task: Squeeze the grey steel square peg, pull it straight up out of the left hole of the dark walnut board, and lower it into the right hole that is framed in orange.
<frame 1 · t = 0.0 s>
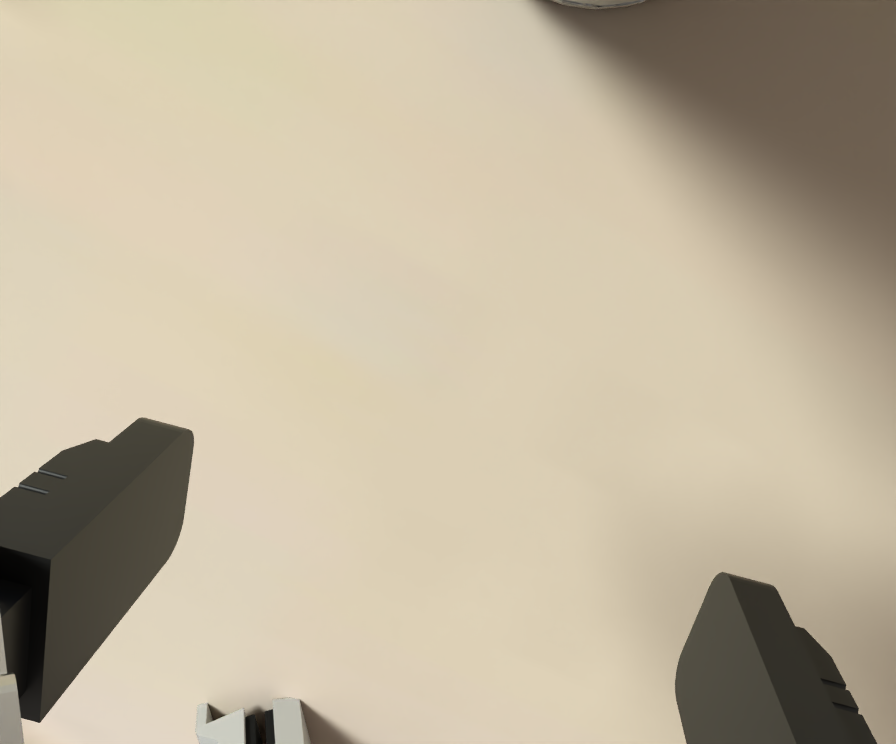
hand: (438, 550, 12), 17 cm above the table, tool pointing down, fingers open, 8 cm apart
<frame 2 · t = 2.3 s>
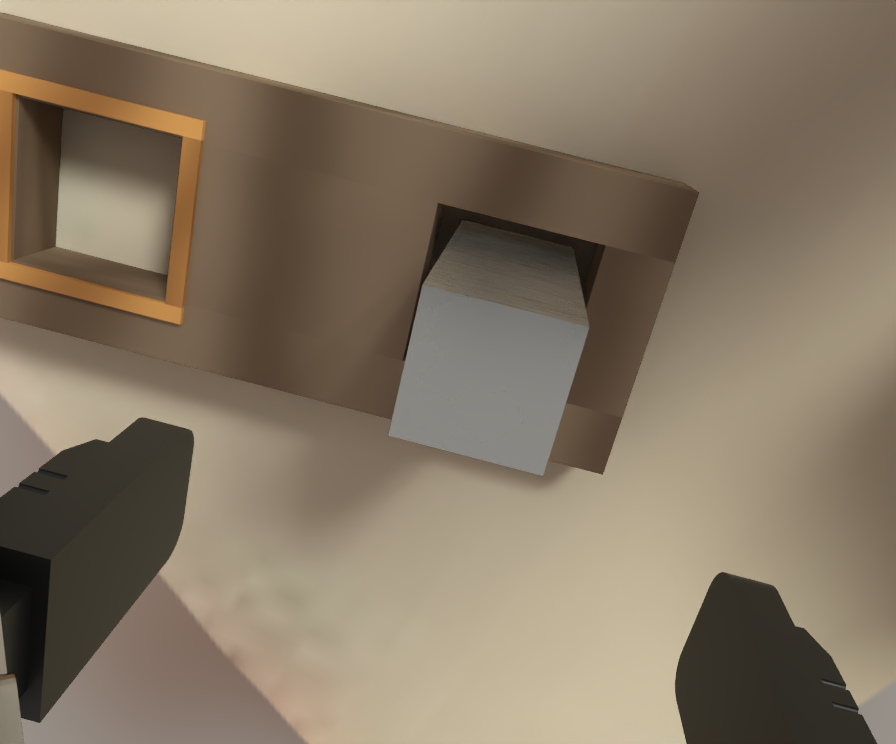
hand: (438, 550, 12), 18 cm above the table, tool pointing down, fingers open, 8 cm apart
hole board: (316, 239, 28), on the table
steel peg: (503, 287, 28), resting in hole board
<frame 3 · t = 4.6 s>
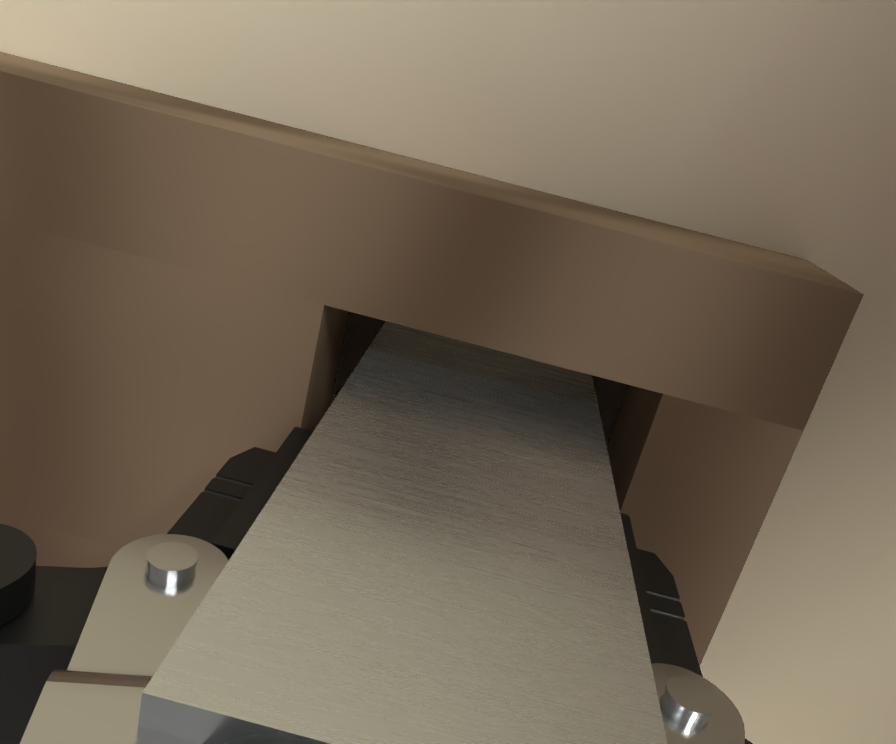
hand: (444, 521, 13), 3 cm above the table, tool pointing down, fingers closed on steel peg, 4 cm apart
hole board: (126, 348, 16), on the table
steel peg: (464, 437, 16), resting in hole board, touching gripper
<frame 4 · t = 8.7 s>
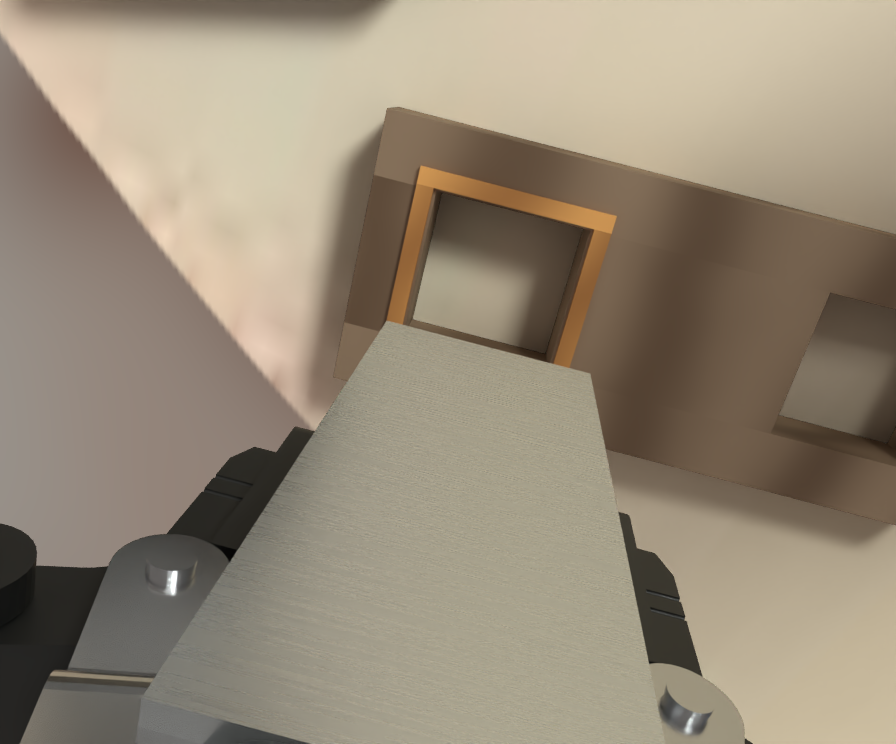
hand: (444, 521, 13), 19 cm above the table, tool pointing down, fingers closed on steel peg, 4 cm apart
hole board: (671, 316, 30), on the table
steel peg: (463, 439, 16), point 16 cm above the table, touching gripper
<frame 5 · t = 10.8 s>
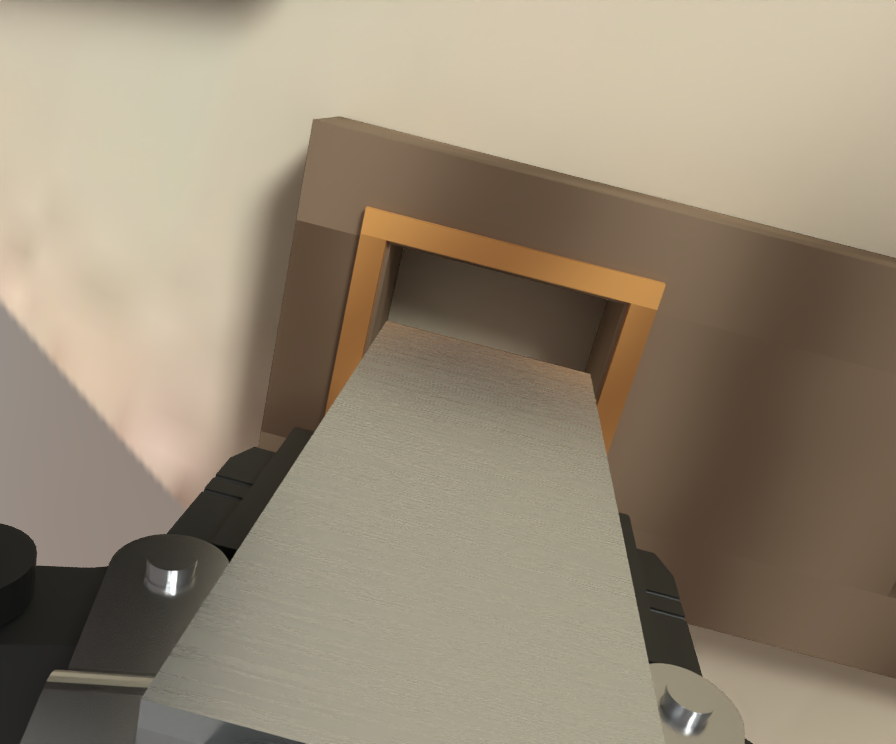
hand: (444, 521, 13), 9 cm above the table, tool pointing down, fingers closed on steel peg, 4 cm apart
hole board: (737, 416, 21), on the table
steel peg: (463, 439, 16), point 6 cm above the table, touching gripper
when the fingers open (5 cm above the table, at t = 12.8 s): steel peg drops 1 cm, resting in hole board.
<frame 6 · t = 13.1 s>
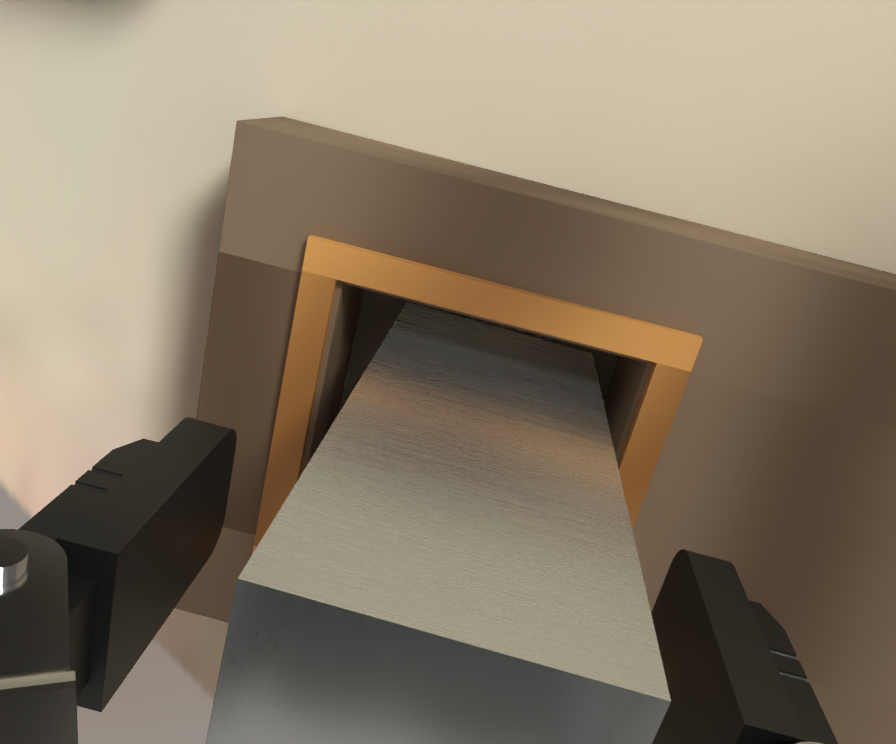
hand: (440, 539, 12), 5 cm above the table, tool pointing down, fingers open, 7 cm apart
hole board: (783, 492, 17), on the table
steel peg: (474, 412, 17), resting in hole board
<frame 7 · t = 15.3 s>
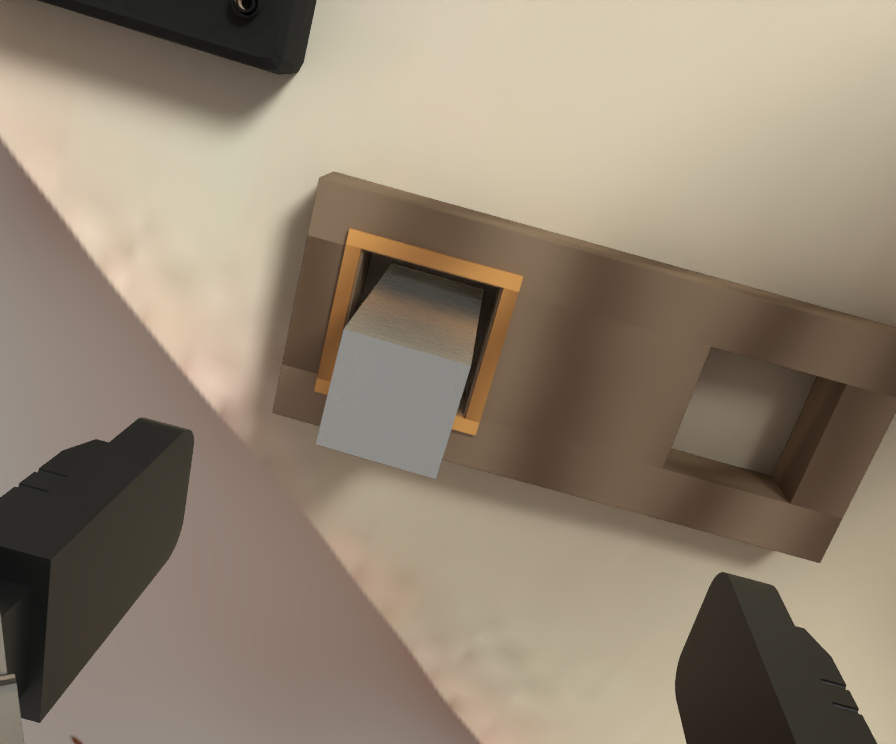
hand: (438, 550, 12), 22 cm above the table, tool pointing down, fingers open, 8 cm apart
hole board: (579, 361, 34), on the table
steel peg: (425, 320, 34), resting in hole board
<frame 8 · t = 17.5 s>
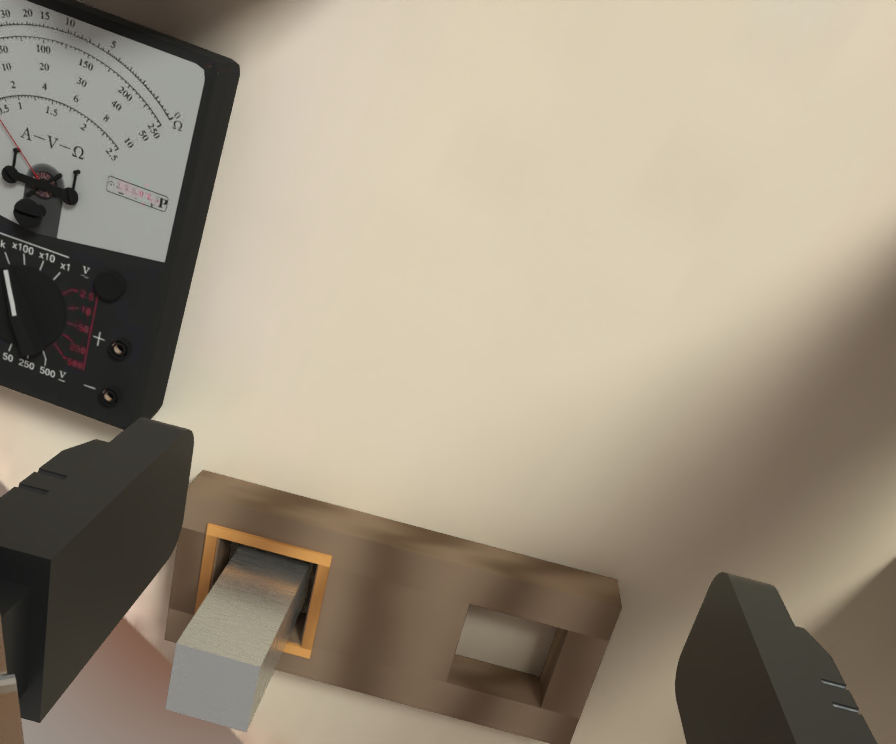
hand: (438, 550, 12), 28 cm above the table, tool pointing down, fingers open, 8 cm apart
hole board: (390, 597, 46), on the table
steel peg: (277, 567, 46), resting in hole board
multimeter: (84, 206, 41), on the table
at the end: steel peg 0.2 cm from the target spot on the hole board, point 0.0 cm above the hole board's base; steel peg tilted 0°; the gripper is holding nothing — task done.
